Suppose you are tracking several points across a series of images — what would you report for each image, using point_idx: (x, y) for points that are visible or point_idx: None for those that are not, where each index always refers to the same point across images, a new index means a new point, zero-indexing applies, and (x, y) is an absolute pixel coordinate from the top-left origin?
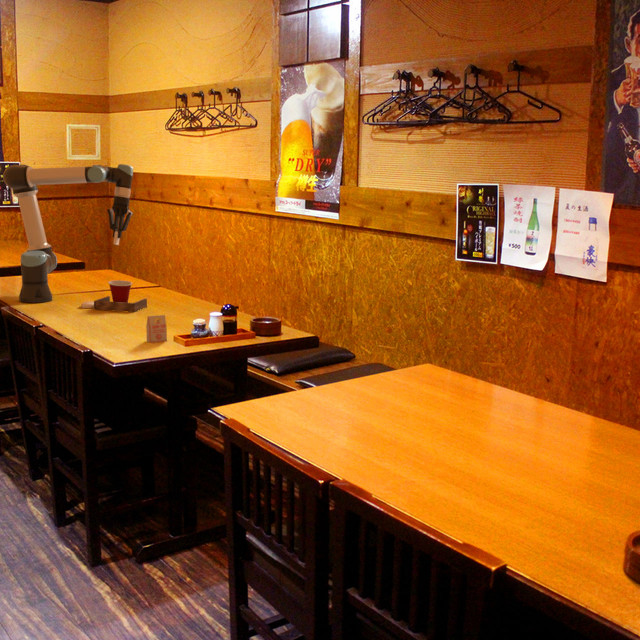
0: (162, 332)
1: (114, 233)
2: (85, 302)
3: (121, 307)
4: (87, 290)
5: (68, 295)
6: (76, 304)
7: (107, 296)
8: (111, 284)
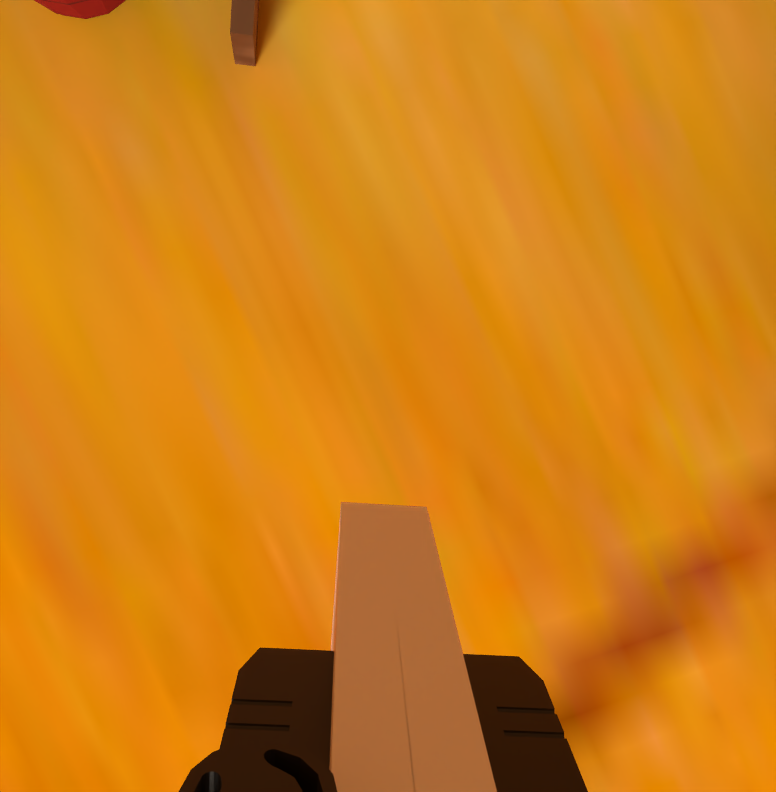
0: None
1: (511, 762)
2: None
3: None
4: (708, 669)
5: (759, 402)
6: (527, 10)
7: (248, 17)
8: None
